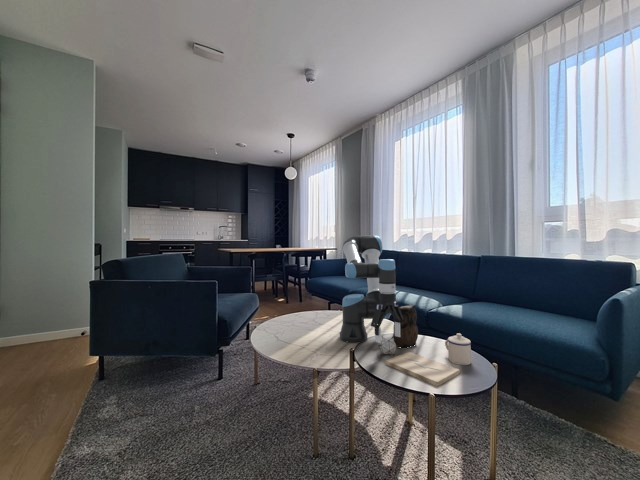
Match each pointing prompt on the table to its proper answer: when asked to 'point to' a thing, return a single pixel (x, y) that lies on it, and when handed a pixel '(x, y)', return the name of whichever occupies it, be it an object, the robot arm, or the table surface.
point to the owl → (407, 328)
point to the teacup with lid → (459, 349)
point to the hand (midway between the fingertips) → (388, 339)
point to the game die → (388, 346)
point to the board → (423, 368)
